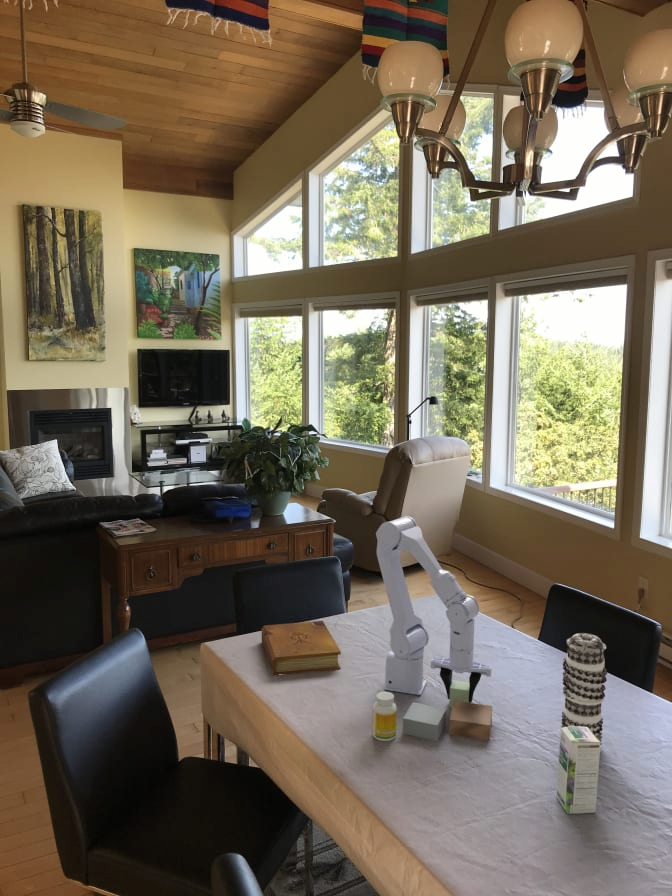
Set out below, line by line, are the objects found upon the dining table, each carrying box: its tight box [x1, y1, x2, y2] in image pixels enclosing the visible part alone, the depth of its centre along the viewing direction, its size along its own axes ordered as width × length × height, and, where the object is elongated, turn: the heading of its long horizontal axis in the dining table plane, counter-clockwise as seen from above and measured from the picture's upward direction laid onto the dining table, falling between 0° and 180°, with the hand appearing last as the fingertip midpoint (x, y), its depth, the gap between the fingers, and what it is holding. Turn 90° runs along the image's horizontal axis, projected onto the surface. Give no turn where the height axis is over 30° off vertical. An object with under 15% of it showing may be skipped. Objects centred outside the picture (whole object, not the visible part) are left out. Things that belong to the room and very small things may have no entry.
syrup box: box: [556, 726, 601, 815], centre depth 134 cm, size 6×6×14 cm
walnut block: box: [448, 701, 493, 741], centre depth 162 cm, size 9×9×4 cm
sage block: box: [448, 679, 470, 709], centre depth 173 cm, size 4×4×5 cm
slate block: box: [402, 701, 447, 742], centre depth 162 cm, size 8×8×4 cm
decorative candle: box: [560, 632, 608, 753], centre depth 153 cm, size 9×9×25 cm
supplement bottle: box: [371, 691, 398, 742], centre depth 158 cm, size 5×5×10 cm
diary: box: [261, 620, 342, 676], centre depth 201 cm, size 23×19×6 cm
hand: (460, 699), depth 173 cm, fingers closed on sage block, 4 cm apart
